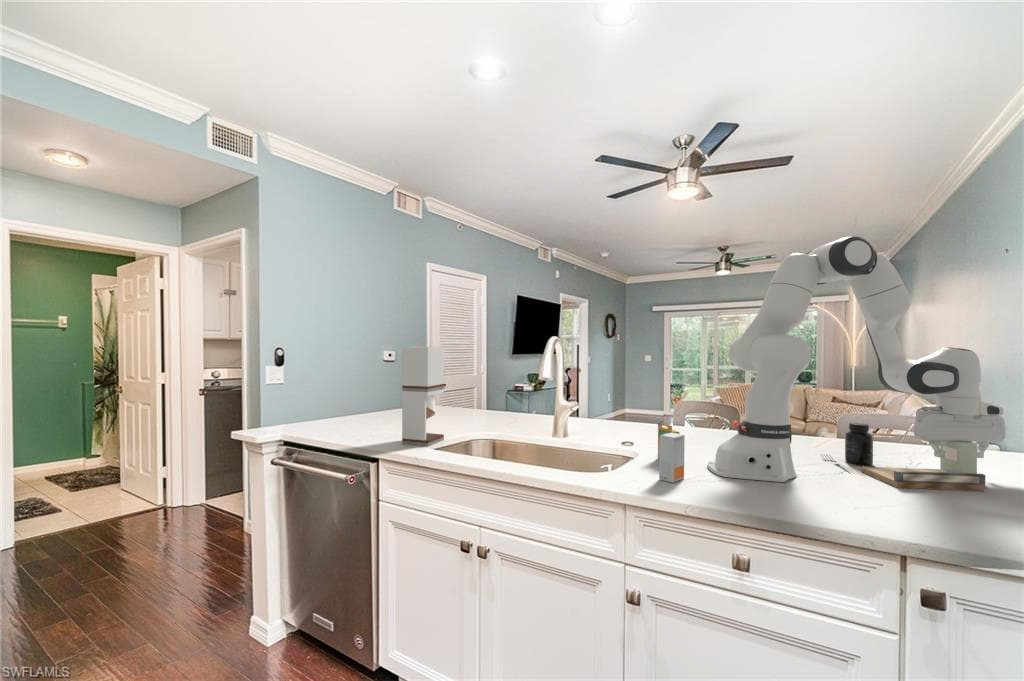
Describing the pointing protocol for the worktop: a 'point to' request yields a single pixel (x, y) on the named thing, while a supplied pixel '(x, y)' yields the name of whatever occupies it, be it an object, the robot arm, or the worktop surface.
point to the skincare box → (671, 457)
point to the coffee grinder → (420, 392)
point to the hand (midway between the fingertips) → (958, 457)
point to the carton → (959, 457)
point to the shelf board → (927, 478)
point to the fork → (838, 464)
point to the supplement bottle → (859, 445)
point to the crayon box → (664, 432)
